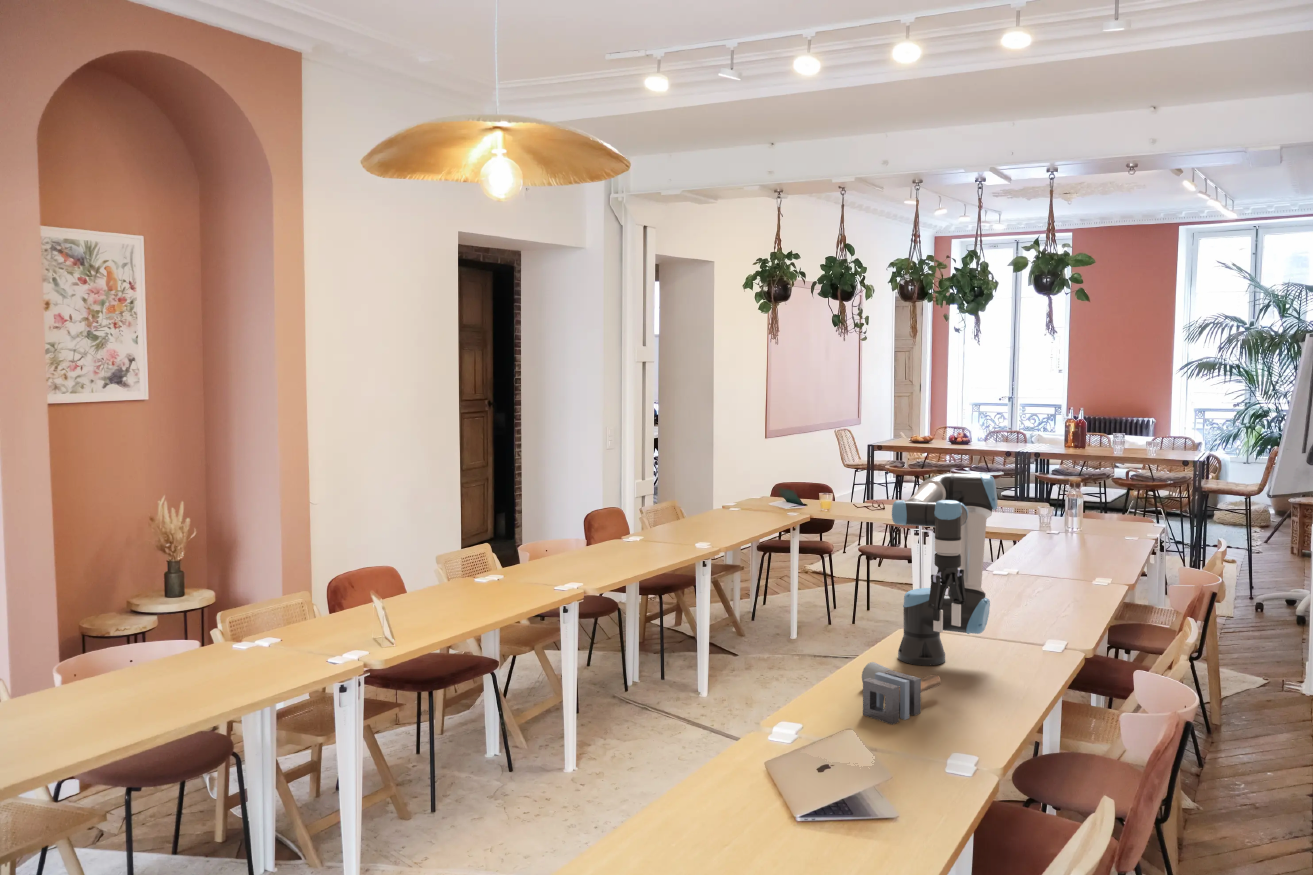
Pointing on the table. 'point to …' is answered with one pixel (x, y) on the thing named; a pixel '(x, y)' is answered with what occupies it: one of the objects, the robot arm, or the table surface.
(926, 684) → the air tube
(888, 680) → the aperture arch
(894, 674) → the square frame
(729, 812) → the table surface
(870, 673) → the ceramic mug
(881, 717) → the collar
